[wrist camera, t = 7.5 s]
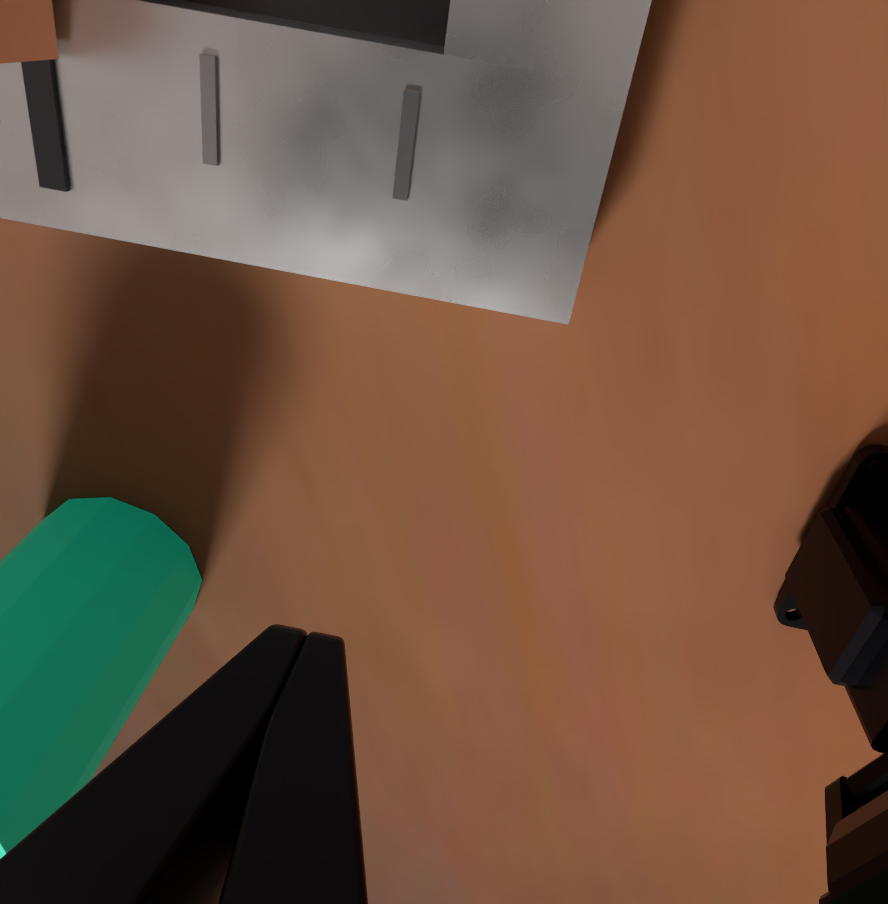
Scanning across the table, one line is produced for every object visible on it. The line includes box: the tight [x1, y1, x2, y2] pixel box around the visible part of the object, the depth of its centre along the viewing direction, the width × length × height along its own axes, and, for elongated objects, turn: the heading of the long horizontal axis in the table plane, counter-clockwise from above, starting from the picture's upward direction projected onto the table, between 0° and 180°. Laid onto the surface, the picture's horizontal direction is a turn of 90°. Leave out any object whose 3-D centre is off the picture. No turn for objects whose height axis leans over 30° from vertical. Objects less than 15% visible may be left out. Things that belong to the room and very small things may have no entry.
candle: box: [0, 497, 202, 859], centre depth 20 cm, size 6×6×12 cm
